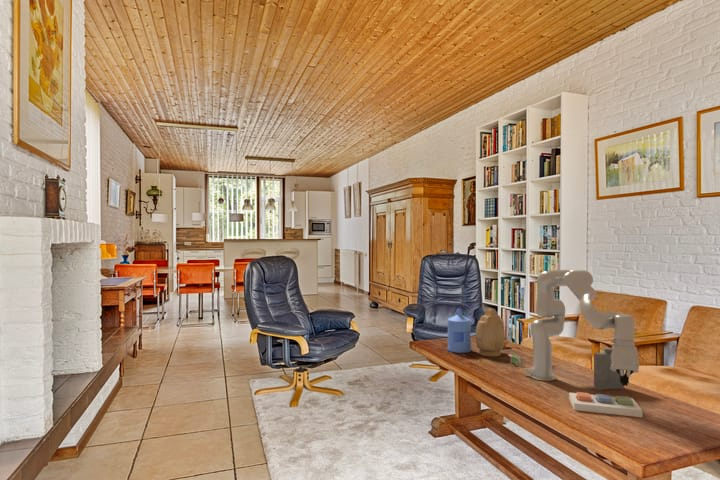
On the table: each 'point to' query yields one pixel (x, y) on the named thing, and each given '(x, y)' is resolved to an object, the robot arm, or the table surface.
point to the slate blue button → (603, 398)
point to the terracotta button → (583, 396)
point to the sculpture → (490, 333)
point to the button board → (605, 406)
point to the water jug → (459, 333)
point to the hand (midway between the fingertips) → (624, 384)
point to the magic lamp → (506, 341)
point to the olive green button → (624, 400)
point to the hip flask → (605, 372)
